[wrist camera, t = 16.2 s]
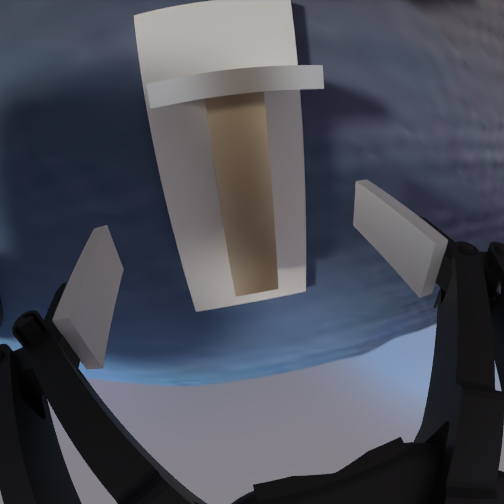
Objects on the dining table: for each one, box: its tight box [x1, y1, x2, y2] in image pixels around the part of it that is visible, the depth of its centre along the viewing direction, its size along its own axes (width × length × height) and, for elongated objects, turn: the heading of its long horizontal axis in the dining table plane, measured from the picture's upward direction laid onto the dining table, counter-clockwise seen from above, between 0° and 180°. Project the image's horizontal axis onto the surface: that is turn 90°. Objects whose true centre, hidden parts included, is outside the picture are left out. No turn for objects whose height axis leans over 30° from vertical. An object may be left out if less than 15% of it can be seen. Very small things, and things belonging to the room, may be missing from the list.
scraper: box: [146, 65, 324, 297], centre depth 18 cm, size 8×14×6 cm, turn 6°
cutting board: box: [134, 0, 306, 312], centre depth 20 cm, size 10×24×1 cm, turn 6°
